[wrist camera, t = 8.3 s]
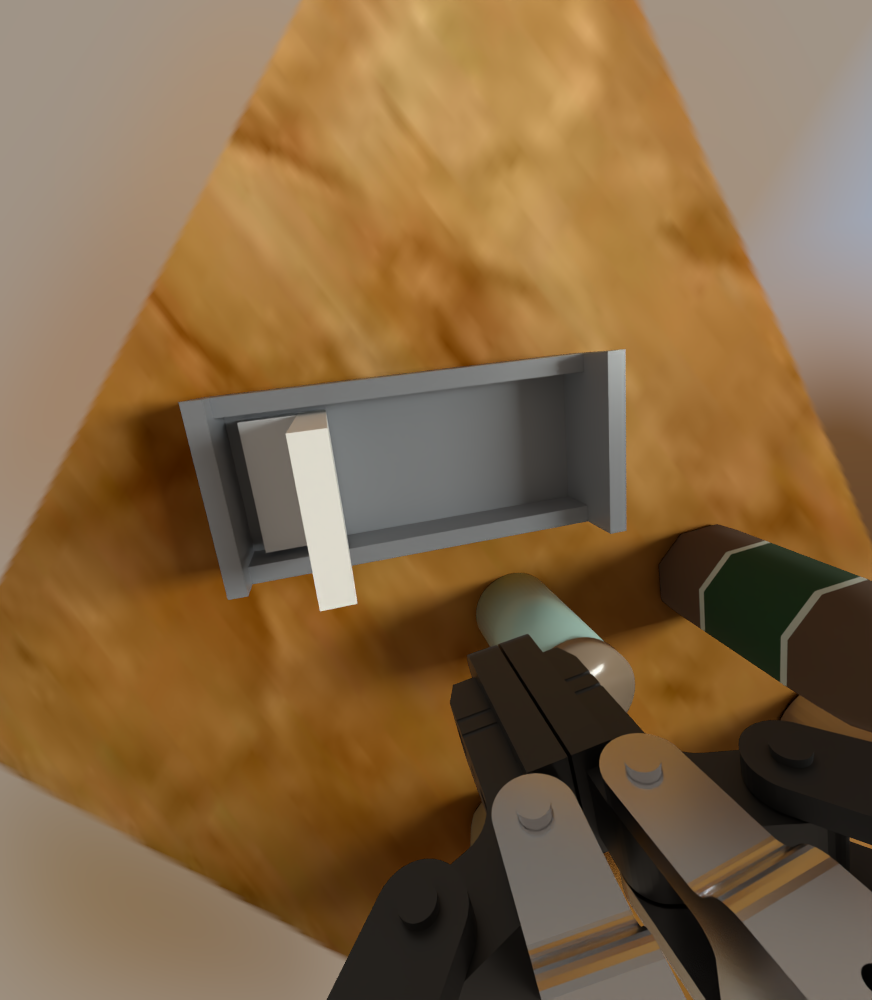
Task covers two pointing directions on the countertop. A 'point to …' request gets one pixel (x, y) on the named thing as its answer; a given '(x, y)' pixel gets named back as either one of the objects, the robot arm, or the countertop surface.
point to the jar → (551, 630)
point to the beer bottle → (778, 614)
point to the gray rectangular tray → (430, 458)
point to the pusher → (300, 497)
